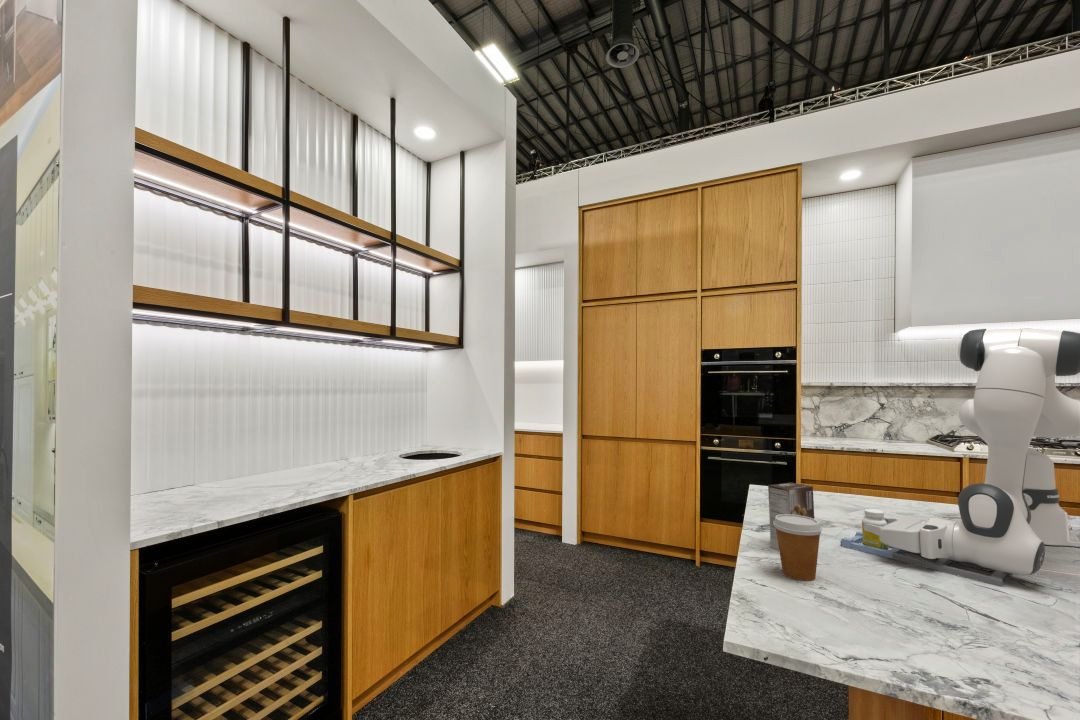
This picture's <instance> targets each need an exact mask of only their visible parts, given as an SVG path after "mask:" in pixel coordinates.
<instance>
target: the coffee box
mask: <svg viewBox="0 0 1080 720" xmlns="http://www.w3.org/2000/svg"><path fill="white" fill-rule="evenodd" d="M767 488H768V511H769V512H768V514H769V536H770V537H769V541H770V548H771V549H774V550H776V551H779V546H778V540H777V533H776V528H775V526H774V524H773V521H775V516H777V515H781V514H792V515H800V516H806V517H810V518H813V519H815V504H814V502H815V500H814V486H811V485H806V484H801V483H795V482H783V483H777V484H776V483H775V484H768V485H767Z"/></svg>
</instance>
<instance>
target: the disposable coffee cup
mask: <svg viewBox="0 0 1080 720" xmlns="http://www.w3.org/2000/svg"><path fill="white" fill-rule="evenodd" d="M773 524H774V526H775V528H776V533H777V540H778V546H779V550H778V551H779V557H780V558H779V559H780V564H781V569H782V570H781V571H782V573H783V574H784V576H786V577H788V578H790V579H793V580H799V581H806V582H807V581H808V582H809V581H815V579H816V576H817V565H818V558H819V548H820V538H821V533H822V531H823V528H822V526H821V523H820V521H819V520H817V519H815V518H814V519H813V518H810V517H806V516H800V515H792V514H781V515H777V516H775V521H773Z"/></svg>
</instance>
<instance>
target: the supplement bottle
mask: <svg viewBox="0 0 1080 720" xmlns="http://www.w3.org/2000/svg"><path fill="white" fill-rule="evenodd" d="M864 515H865V516H864V517H862V520H861V529H862V530H861V532H862V534H863V542H862V545H866V546H870V547H874V548H879V549H883V550H887V551H888V550H889V548H890V547H888V545H886V544H884V543H882V542H881V541H880V536H878V535H876V534H874V533H872V532H868V531H865V530H864V524H866V523H870V524H874V525H876V526H879V527H880V526H882V527H883V526H885V525H887V522H886V521H885V520H884V519H883V518H885V513H884V511H883V510H879V509H874V508H866V509H864Z"/></svg>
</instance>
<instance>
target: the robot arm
mask: <svg viewBox="0 0 1080 720" xmlns="http://www.w3.org/2000/svg"><path fill="white" fill-rule="evenodd" d="M957 355H958V358H959V361H960V363H961V364H962V365H963V366H964V367H966V368H968V369H971V370H973V371H974V372H979V374H978V377H977V379H976V383H975V384H976V385H975V389H974V394H973V398H971V399H967V400H966V401H964V402H963V403H962V404H961V406H960V408H959V411H958V418H959V420H960V422H961V424H962V426H963V427H964V428H966V430H968V431H969V432H971V433H973V434H975V435H976V436H978V438H981V440H983V441H984V443H986V445H987V449H988V452H987V460H986V461H987V462H986V470H985V479H984V483H983V482H982V483H973V484H970V485H967V486H965V487H964V488H963V489H962V490H961V491H960V492H959V494H958V497H957V505H958V510H959V516H960V518H961V521H958V520H952V519H945V518H941V517H935V516H932V517H930V518H925V517H919V516H916V515H905V516H903V517H901V518H897V517H896V518H894V517H892V518H891V517H884V518H883V519H884V520H885V521H886V522H887V525H885V526H883V527H882V526H880V527H879V526H876V525H874V524H870V523H866V524H864V530H865V531H868V532H872V533H874V534H876V535H878V536H880V541H881V542H882V543H884V544H886V545H888V546H892V547H895V548H899V549H902V550H906V552H907V551H909V552H908V553H911V552H914V553H913V554H915V553H921V555H920V556H921V557H923V558H926V559H929V560H934V559H935V560H936V558H943V559H950V560H954V561H958V562H970V563H974V564H977V565H979V566H981V567H984V568H988V569H992V570H997V571H1002V572H1007V573H1013V575H1021V576H1022V575H1024V576H1030V575H1033V574H1036V573H1037V572H1038V571H1039V570H1040V569H1041V567H1042V565H1043V563H1044V561H1045V557H1046V556H1045V555H1046V546H1045V545H1048V546H1064V547H1066V546H1067V547H1076V548H1080V539H1079V537H1078V536H1077V535H1076V533H1075V532H1074V531H1072V530H1073V526H1071V525H1069V518H1068V512H1067V511H1065V509H1063V508H1062V507H1061V506H1060V505H1059V503H1060V493H1059V490H1058V489H1057V488H1056V475H1055V464H1054V461H1053V460H1052V458H1050V457H1049V456H1048V455H1047V454H1045V453H1043V452H1040V451H1038V450H1036V449H1034V448H1031V447H1030V445H1031V442H1032V439H1033V437H1035V438H1051V439H1052V438H1053V439H1054V438H1056V439H1059V438H1071V437H1080V400H1078V399H1074V398H1072V397H1069V396H1067V395H1065V394H1064V393H1062V392H1061V391H1059V389H1058V388H1057V386H1056V377H1069V376H1076V375H1078V374H1080V333H1079V332H1077V331H1072V330H1071V331H1070V330H1063V331H1058V330H1051V329H1050V330H1049V329H1042V328H1041V329H1040V328H1039V329H1038V328H1000V329H999V328H997V329H995V328H994V329H987V328H979V329H978V328H977V329H972V330H969V331H968V332H966V333H965V334H964V335H963V337H962V338H961V339H960V341H959V343H958V346H957Z"/></svg>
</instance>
